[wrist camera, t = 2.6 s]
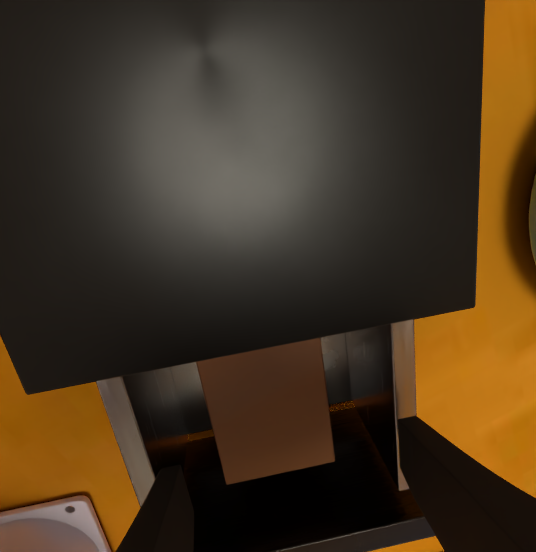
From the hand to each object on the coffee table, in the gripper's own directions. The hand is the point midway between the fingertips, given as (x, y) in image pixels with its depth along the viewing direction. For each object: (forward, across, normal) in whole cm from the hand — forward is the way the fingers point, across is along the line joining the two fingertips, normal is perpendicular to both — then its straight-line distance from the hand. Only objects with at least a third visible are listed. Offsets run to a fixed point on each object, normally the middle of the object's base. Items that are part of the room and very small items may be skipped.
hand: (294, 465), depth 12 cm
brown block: (+6, 0, 0) cm, 6 cm away
